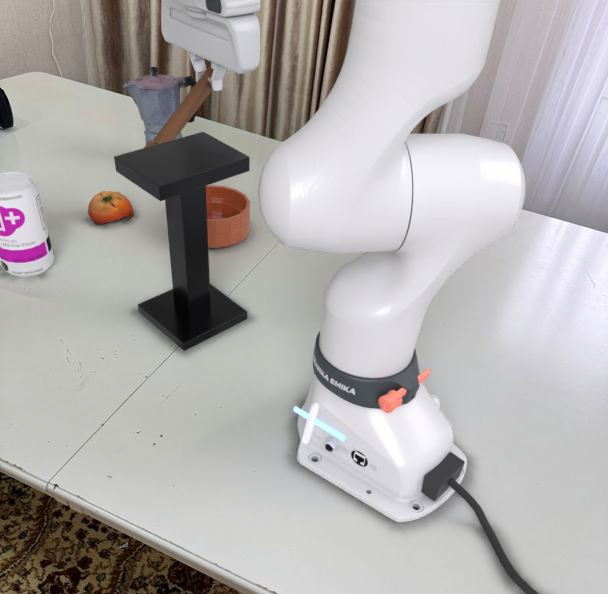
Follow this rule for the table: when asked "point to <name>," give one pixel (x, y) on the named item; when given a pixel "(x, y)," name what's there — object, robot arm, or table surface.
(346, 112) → the robot arm
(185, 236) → the black plant stand
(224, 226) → the bowl
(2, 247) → the supplement can
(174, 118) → the wooden spatula
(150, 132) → the moka pot
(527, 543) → the table surface
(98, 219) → the tomato
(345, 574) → the table surface
